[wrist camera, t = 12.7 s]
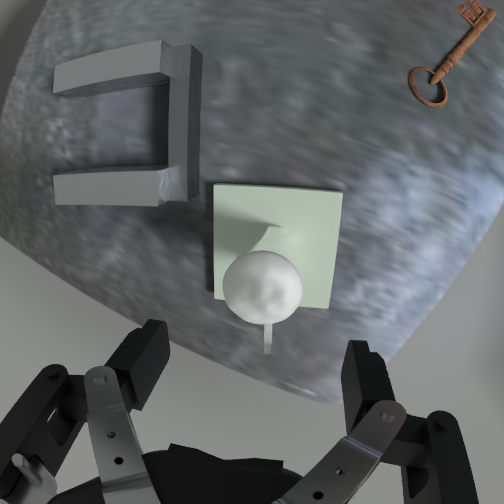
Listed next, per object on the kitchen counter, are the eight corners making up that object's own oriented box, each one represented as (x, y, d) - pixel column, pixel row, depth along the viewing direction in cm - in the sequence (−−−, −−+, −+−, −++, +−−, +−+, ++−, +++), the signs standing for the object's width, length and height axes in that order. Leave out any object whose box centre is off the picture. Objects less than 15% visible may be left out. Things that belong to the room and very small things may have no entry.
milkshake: (251, 282, 27) (227, 355, 17) (239, 220, 25) (206, 270, 16) (305, 276, 26) (307, 350, 17) (297, 213, 24) (297, 260, 15)
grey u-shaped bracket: (88, 72, 23) (55, 65, 18) (202, 54, 22) (182, 36, 17) (88, 193, 27) (55, 204, 22) (199, 194, 26) (178, 207, 21)
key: (461, -14, 16) (382, 67, 21) (464, -18, 15) (384, 64, 20) (504, 28, 16) (433, 116, 21) (508, 25, 15) (437, 115, 20)
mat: (216, 183, 25) (213, 184, 24) (341, 190, 24) (342, 193, 23) (217, 293, 29) (214, 298, 28) (327, 303, 28) (328, 308, 27)
